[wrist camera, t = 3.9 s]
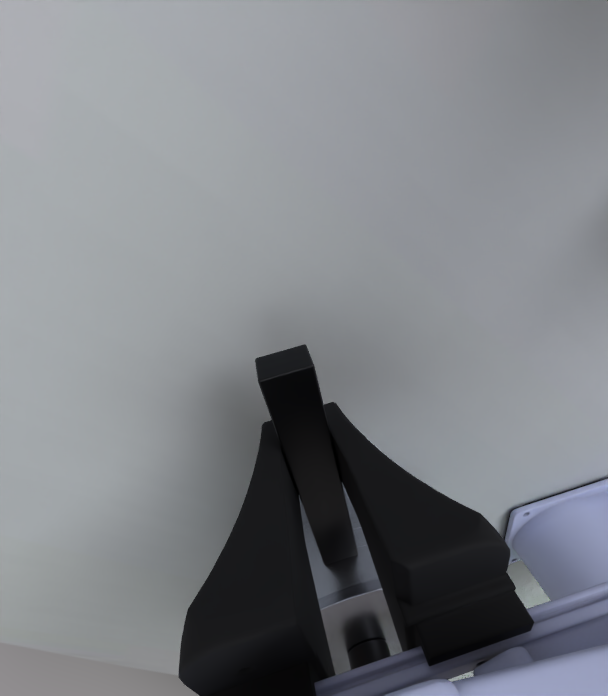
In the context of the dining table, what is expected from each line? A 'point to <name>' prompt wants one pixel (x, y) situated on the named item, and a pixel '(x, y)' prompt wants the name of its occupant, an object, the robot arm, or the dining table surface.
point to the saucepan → (327, 515)
